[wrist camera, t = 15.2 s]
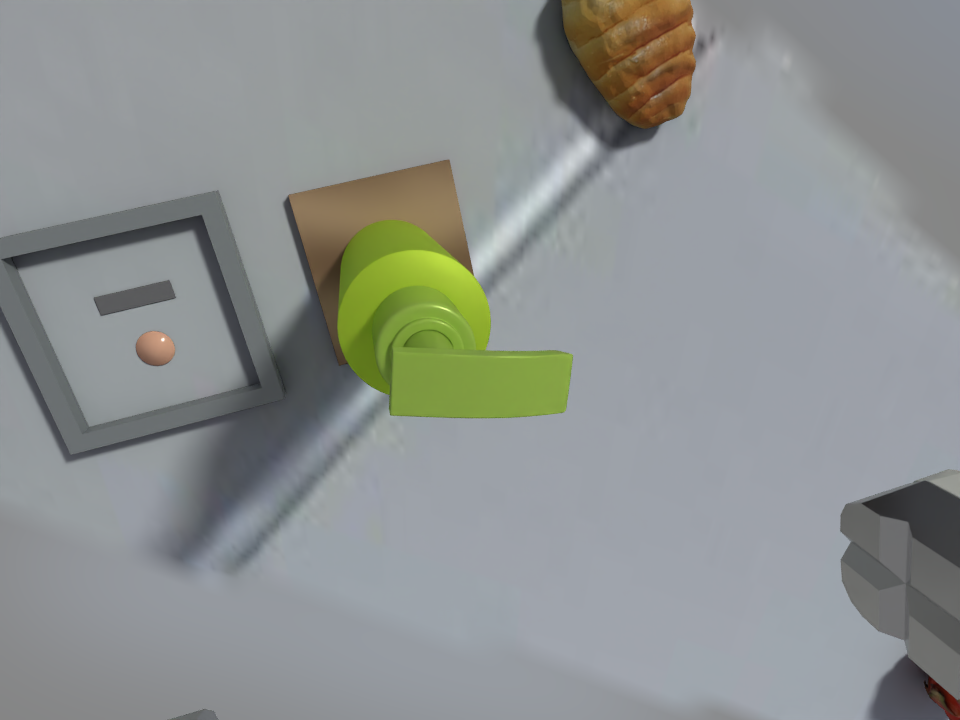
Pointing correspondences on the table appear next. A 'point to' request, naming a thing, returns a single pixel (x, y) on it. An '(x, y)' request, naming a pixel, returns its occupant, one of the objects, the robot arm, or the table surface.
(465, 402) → the soap dispenser
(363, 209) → the walnut pad
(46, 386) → the slate frame
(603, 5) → the pastry
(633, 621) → the table surface
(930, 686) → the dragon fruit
